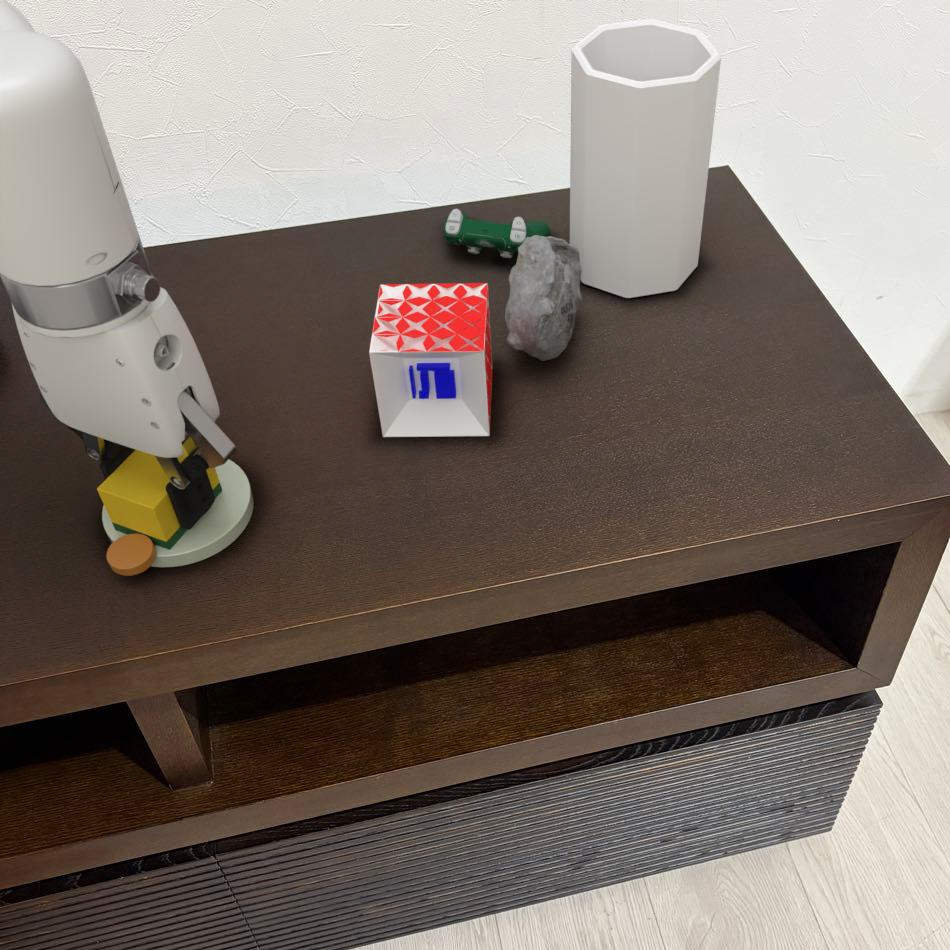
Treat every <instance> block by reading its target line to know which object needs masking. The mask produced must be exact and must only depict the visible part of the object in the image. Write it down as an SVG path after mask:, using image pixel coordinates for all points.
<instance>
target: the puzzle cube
mask: <svg viewBox="0 0 950 950" xmlns="http://www.w3.org/2000/svg"><path fill="white" fill-rule="evenodd" d="M489 297H490V296H489V284H488V282H473V283H472V282H469V283H468V282H467V283H466V282H465V283H462V282H461V283H456V282H455V283H453V282H452V283H380V284H379V288H378V293H377V302H376V308H375V313H374V319H373V327H372V332H371V337H370V342H369V350H368V355H369V364H370V369H371V373H372V380H373V386H374V393H375V397H376V405H377V410H378V417H379V423H380V431H381V437H382V438H419V437H421V438H422V437H425V438H426V437H427V438H432V437H433V438H434V437H435V438H436V437H437V438H438V437H490V435H491V414H492V412H491V411H492V410H491V409H492V391H493V390H492V389H493V371H494V370H493V369H494V368H493V352H492V335H491V334H492V333H491V319H490V318H491V317H490V300H489Z"/></svg>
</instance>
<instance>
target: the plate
mask: <svg viewBox="0 0 950 950" xmlns="http://www.w3.org/2000/svg"><path fill="white" fill-rule="evenodd" d="M215 469H216V472H217V475H218V478H219V481H220V484H221V487H222V491H221V493H220V494H219V495H218V496H217V497H216V498H215V501H214V503H213V504H212V506H211V508H210V509H209V510H208V511H207V513H206V514H204V515H203V516H202V517H201V518H200V519H199V520H198V521H197V523H196V524H195V525H194V526H193V527H192V528H191V529H190V530H187V531H186V532H185V533H184V535H183V536H182V537H181V538H180V539H179V540H178V541H177V542H176V544H175V545H174V546H173V547H172V548H171V549H170V550H169V549H166V548H163V547H160V546H158V545H155V544H154V547H155V549H156V558H155V561H154V562H153V564H152V565H151V566H150V567H153V568H175V567H183V566H187V565H192V564H195V563H198V562H202V561H204V560H207V559H208V558H211V557H213V556H215V555H216V554H219V553H220V552H222V551H223V550H224V549H226V548H228V547H229V546H230V545H232V543H234V542H235V541H236V540H237V539H238V538H239V537H240V536H241V535H242V533H243V532H244V531H245V529H246V528H247V526H248V524H249V522H250V521H251V518H252V515H253V511H254V506H255V505H254V504H255V503H254V502H255V500H254V494H253V491H252V490H253V489H252V486H251V483H250V481H249V478H248V476H247V474H246V473H245V471H244V470H243V469H242V468H241V467H240V466H239V465H238V464H236V463H235V462H234V461H232V459H230V458H229V459H228V460H227V462H226V463H225V464H223V465H220V466H218V467H215ZM101 521H102V525H103V529H104V532H105V533H106V535H107V537H108V540H109V542H110V543H111V544H112V543H113V542H114V541H115V540H117V539H118V538H120V537H122V536H124V535H127V534H125V533H122V532H119V531H116V530H115V528H114V526H113V524H112V522H111V519H110V517H109V515H108V513H107V511H106V508H105V506H104V505H103V506H102V512H101ZM111 544H110V545H111Z"/></svg>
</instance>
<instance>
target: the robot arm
mask: <svg viewBox="0 0 950 950" xmlns="http://www.w3.org/2000/svg"><path fill="white" fill-rule="evenodd" d="M0 280H1V282H2V285H3V287H4V289H5V291H6V292H7V295H8V298H9V299H10V303H11V307H12V313H13V317H14V321H15V324H16V329H17V331H18V334H19V339H20V342H21V346H22V347H23V351H24V354H25V357H26V359H27V362H28V364H29V367H30V370H31V373H32V375H33V378H34V380H35V382H36V385H37V386H38V389H39V392H40V393H39V396H38V398H39V401H40V402H41V404H42V405H44V406H45V407H46V408H48V409H49V410H50V411H51V413H52V414H53V416H54V417H55V418H56V419H57V420H58V421H59V422H61V423H63V424H65V426H67V428H68V429H69V430H70V431H72V432H73V433H74V434H76V436H77V437H79V438H80V439H81V440H82V441H83V444H84V450H85V452H86V455H88V456H89V457H90V458H91V459H92V460H94V461H97V462H100V463H99V464H98V466H99V469H100V471H101V473H102V476H103V478H104V481H105V480H106V479H107V478H108V477H109V476H110V475H111V474H112V473H113V472H114V471H115V470H116V469H117V468H118V467H119V466H120V465H121V464H122V463H123V462H124V461H125V460H126V459H127V458H128V457H129V456H130V455H131V454H132V453H133V452H134V451H135V450H139V451H142V452H145V453H148V454H151V455H154V456H155V457H156V459H157V461H158V462H159V464H160V466H161V467H162V469H163V471H164V472H165V474H166V476H167V477H168V479H169V481H170V482H169V483H168V484H167V485H166V492H167V493H168V496H169V498H170V501H171V504H172V506H173V509H174V511H175V514H176V517H177V519H178V522H179V524H180V527H181V528H184V529H187V530H190V529H191V528H192V527H193V526H194V525H195V524H196V523H197V521H198V520H199V519H200V518H201V517H202V516H203V515H204V514H206V513H207V511H208V510H209V509H210V508H211V506H212V504H213V503H214V501H215V495H214V492H213V489H212V486H211V483H210V480H209V477H208V474H207V471H206V470H207V469H210V468H211V469H212V468H215V467H218V466H220V465H223V464H225V463H226V462H227V460H228V459H229V460H230V458H231V457H232V456H233V455H234V454H235V453H236V452H237V446H236V445H235V443H234V442H233V441H232V440H231V439H230V438H229V437H228V435H227V434H225V432H224V431H223V429H221V428H220V427H219V426H218V424H217V423H216V421H217V420H218V418H219V417H220V415H221V414H220V413H221V412H220V406H219V402H218V399H217V395H216V393H215V389H214V387H213V384H212V382H211V381H212V380H211V378H210V375H209V374H208V373H209V372H208V371H207V368H206V366H205V363H204V361H203V357H202V355H201V353H200V350H199V348H198V346H197V344H196V342H195V340H194V337H193V335H192V332H191V331H190V329H189V327H188V326H187V323H186V321H185V320H184V318H183V316H182V314H181V312H180V311H179V308H178V306H177V305H176V304H175V302H174V301H173V299H172V298H171V296H170V294H169V293H168V290H166V289H165V288H163V287H161V283H160V280H159V279H158V278H157V277H154V276H153V273H152V270H151V267H150V264H149V260H148V258H147V255H146V252H145V249H144V245H143V242H142V240H141V236H140V234H139V231H138V228H137V224H136V221H135V219H134V215H133V211H132V210H131V207H130V202H129V200H128V196H127V193H126V190H125V187H124V184H123V181H122V178H121V176H120V173H119V169H118V166H117V164H116V161H115V157H114V154H113V150H112V148H111V145H110V142H109V139H108V135H107V132H106V129H105V126H104V123H103V120H102V118H101V115H100V111H99V108H98V105H97V102H96V100H95V97H94V93H93V90H92V86H91V84H90V81H89V79H88V76H87V73H86V72H85V69H84V66H83V64H82V63H81V61H80V59H79V58H78V56H76V54H75V53H74V52H73V50H72V49H71V48H69V47H68V46H67V45H66V44H64V43H63V42H62V41H60V40H59V39H56V38H54V37H51V36H49V35H47V34H43V33H39V32H36V30H35V28H34V27H33V25H32V24H31V23H30V21H29V20H28V18H27V17H26V16H25V14H24V13H23V12H22V11H21V10H20V9H19V8H18V7H16V5H14V4H11V3H10V2H9V1H8V0H0ZM182 445H183V446H184V448H185V450H186V452H187V453H188V456H187V457H186V458H185V459H184V460H183V461H182V462H181V463H180V462H179V461H178V459H177V457H180V456H182V455H183V452H184V451H183V446H182Z"/></svg>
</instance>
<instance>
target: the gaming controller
mask: <svg viewBox="0 0 950 950" xmlns="http://www.w3.org/2000/svg"><path fill="white" fill-rule="evenodd" d="M551 232H552V231H551V228H550V226H549V224H548V223H547V222H545V221H543V220H533V221H528V222H526V221H525V220H524V219H523V217H521V216H515V217H514V218H513V221H511V222H510V223H508V224H506V223H498V222H491V221H483V220H475V219H469V217H468V216H467V214H466V212H464V211H462V210H460V209H458V208H454V209H452V211H451V212H450V213H449V214H448V215H447V217H446V218H445V220H444V221H443V225H442V234H443V238H444V239H445V242H446V243H448V244H449V243H450V244H453V245H455V246H460V245H465V247H466V248H467V252H468V253H470V254H474V255H479V254H480V253H481V251H482V250H483V249H484V248H489V249H497V250H498V252H499V253H500V254H499V255H500V257H501V258H504V259H511V258H513V255H515V254H516V253H518V247H520V246H521V245H522V244H523V242H524V240H525V239H526V238H527V237H532V236H535V235H538V236H543V237H548V236H551V234H552V233H551Z"/></svg>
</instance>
